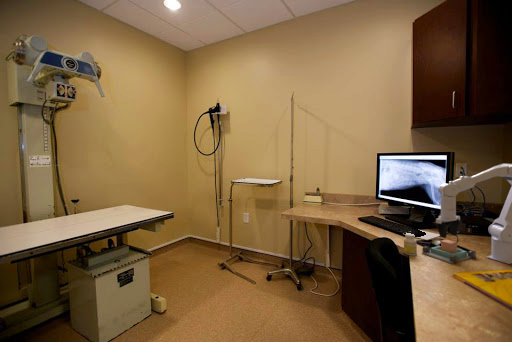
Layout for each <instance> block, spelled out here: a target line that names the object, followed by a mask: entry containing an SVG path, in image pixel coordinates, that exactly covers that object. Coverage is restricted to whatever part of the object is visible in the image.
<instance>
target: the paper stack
mask: <svg viewBox="0 0 512 342" xmlns="http://www.w3.org/2000/svg"><path fill="white" fill-rule="evenodd" d="M419 230H420V231H422V232H425V233H426V235H424V236H421V237H416V238H417V239H418V238H419V239H422V240H426V241H429V240H431V239H434V238H439V237H440V234H439V233H435V232H432V231H431V232H429V231H427V230H422V229H419Z"/></svg>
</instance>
